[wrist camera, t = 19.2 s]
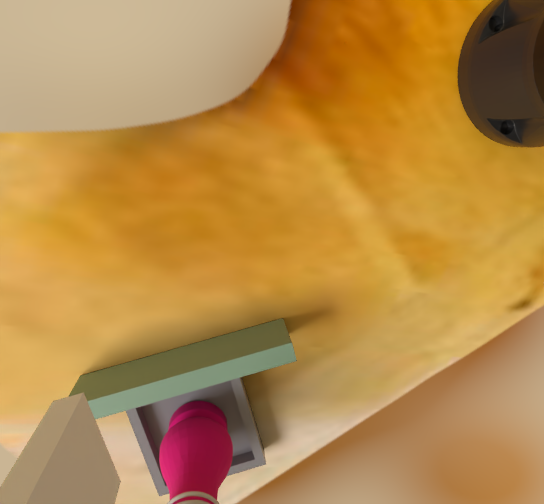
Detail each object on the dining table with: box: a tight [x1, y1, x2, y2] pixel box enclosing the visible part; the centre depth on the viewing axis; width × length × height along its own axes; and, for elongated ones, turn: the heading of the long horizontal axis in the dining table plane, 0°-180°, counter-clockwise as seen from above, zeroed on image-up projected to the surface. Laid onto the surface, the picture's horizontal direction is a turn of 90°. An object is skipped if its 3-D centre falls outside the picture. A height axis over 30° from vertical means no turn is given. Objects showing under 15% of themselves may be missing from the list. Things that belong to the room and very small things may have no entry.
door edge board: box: [69, 318, 297, 419], centre depth 46 cm, size 22×2×6 cm, turn 104°
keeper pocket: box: [126, 377, 266, 496], centre depth 49 cm, size 12×12×2 cm
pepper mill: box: [159, 401, 233, 504], centre depth 40 cm, size 7×7×20 cm
